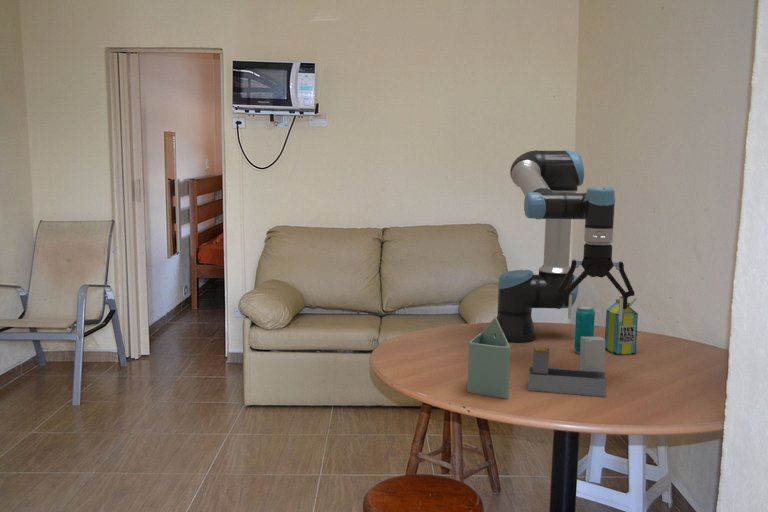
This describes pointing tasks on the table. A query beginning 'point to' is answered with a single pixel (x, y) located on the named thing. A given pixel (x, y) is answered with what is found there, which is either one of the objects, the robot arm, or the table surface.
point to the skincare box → (592, 354)
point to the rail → (563, 378)
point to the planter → (489, 362)
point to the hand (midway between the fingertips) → (594, 319)
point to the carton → (621, 330)
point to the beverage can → (583, 325)
